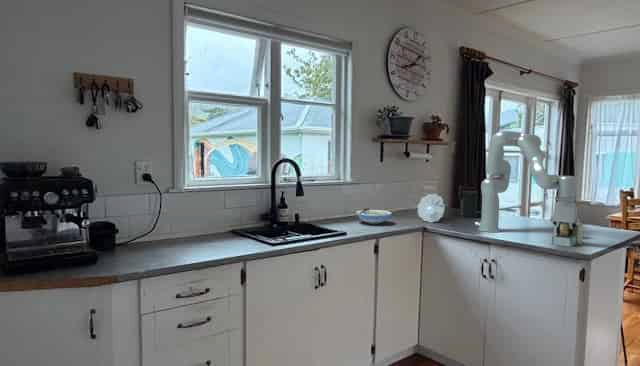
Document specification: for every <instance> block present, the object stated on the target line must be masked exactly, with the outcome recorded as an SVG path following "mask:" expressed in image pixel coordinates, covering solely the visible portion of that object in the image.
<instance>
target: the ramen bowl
mask: <svg viewBox="0 0 640 366" xmlns="http://www.w3.org/2000/svg"><path fill="white" fill-rule="evenodd" d="M356 214H357V216H358V218H359V219H360V220H361V221H363V222H365V223H367V224H368V225H380V224H381V223H385V222H387V220H388V219H390V217H391V215H392V212H391V211H389V210H383V209H382V210H381V209H370V207H368V208H367V207H365V208H364V209H362V210H357V211H356Z"/></svg>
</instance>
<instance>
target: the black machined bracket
mask: <svg viewBox="0 0 640 366" xmlns="http://www.w3.org/2000/svg"><path fill="white" fill-rule="evenodd" d="M475 189H476V188H475V187H469V186H468V187H467V186H466V187H465V186H463V185H458V197H457V199H459V200H460V203H459V204H460V205H459V207H460V208H459V209H460V210H459V214H460V215H461V217H462V218H466V219H467V218H468V219H469V218H472V219H473V218H475V219H476V218H477V217H478V216H477V215H478V191H476V190H475Z"/></svg>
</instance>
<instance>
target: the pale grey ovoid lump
mask: <svg viewBox="0 0 640 366" xmlns="http://www.w3.org/2000/svg"><path fill="white" fill-rule="evenodd" d="M443 202H444V200H443V197H442V195H438V194H437V193H432V194H430V193H428V194H427V195H425V196H423V197H421V199H420V201H419V203H417V204H418V205H417V214H418V218H421V219H422V220H423V221H424V222H429V223H434V222H438V221H440V219H441V218H442V217H444V213H445V209H446V208H445V206H446V205H445V204H444V203H443Z"/></svg>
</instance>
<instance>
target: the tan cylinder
mask: <svg viewBox="0 0 640 366" xmlns="http://www.w3.org/2000/svg"><path fill="white" fill-rule="evenodd" d="M569 228H570V226H569V223H564V222H560V231H559V237H564V238H569V236H568V230H569Z"/></svg>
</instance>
